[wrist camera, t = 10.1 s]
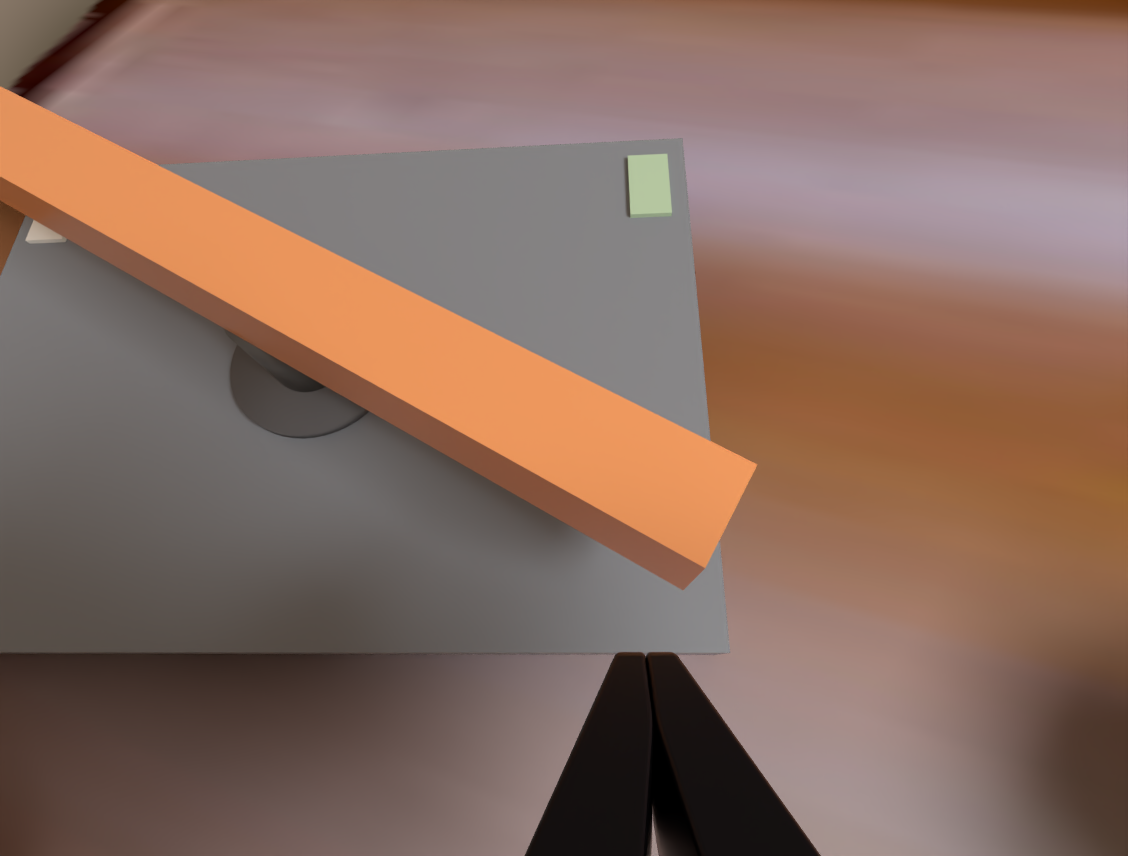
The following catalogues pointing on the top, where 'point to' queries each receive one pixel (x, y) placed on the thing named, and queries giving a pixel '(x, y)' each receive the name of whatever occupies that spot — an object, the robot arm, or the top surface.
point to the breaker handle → (382, 347)
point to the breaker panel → (343, 425)
